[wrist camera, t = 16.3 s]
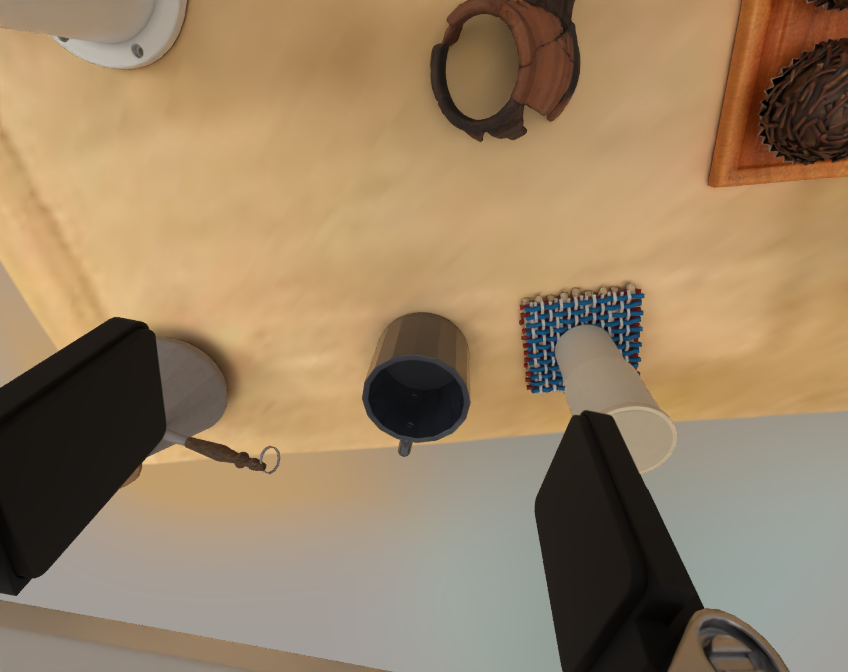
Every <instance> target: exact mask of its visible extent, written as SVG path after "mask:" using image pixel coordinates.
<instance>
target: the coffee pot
mask: <svg viewBox="0 0 848 672" xmlns="http://www.w3.org/2000/svg"><path fill="white" fill-rule="evenodd" d="M156 343H157V351H158V359H159V367H160V375H161V383H162V391H163V399H164V407H165V415H166V423H167V427H166V432H165V435H164V437H163V439H162V440H161V442H160V443H159V444H158V445H157V446H156V447H155V448H154V450H153V451H152V452H151V453H150V454H149V455H148V456H151V455H153V454H155V453H157V452H159V451H161V450H163V449H165V448H168V447H170V446H172V445H174V444H180V445H183V446H185V447H187V448H189V449H191V450H193V451H196V452H198V453H200V454H203V455H205V456H207V457H209V458H212V459H214V460H216V461H221V462H229V463H234V464H235V466H236V467H237V468H243V467H245V466H246V467H248V468H249V469H251V470H255V471H263V472H265V473H268V474H271V473H273V472H275V471H276V469H277V468H278V466H279V462H280V452H279V451H278V450H277V448H275V447H272V446H268V447H266V448H265V449H264V450H263V451H262V453H261V455H260V460H259V459H257V458H249V455H248V453H246V452H240V453H237V452H236V451H234V450H232V449H230V448H229V447H227V446H225V445H222V444H217V443H213V442H209V441H205V440H201V439H196V438H192V437H191V436H193V435H195V434H197V433H200V432H202V431H204V430H206V429H208V428H210V427H212V426H213V425H215V424H216V423H217V422H218V421H219V420H220V419H221V418H222V415H223V413H224V411H225V409H226V406H227V391H228V390H227V386H226V382H225V378H224V377H223V375H222V373H221V371H220V369H219V367H218V366H217V365H216V364H215V363H214V361H213V360H212V359H211V358H210V357H209V356H208V355H207V354H205V353H204V352H203V351H201V350H200V349H198V348H196V347H194V346H192V345H190V344H188V343H186V342H184V341H180V340H176V339H173V338H164V337H156ZM271 447H272V448H274V449H275V450H276V452H277V457H278V460H277V465H276V466H275V468H274V469H273V470H272V471H270V472H266V471H265V469H266V464H265V463H263V462H262V458H263V454H264V453H265V451H266V450H267V449H269V448H271ZM148 456H147V457H148ZM141 469H142V463H141V464H140V466H139V467H138V468H137V469H136V470H135V471H134V472H133V474H132V475H131V476H130V477H129V478H128V479H127V480H126V481H125V483H124V484H123V485H122V486H121V487H120V488H122V487H124V486H127V485H128V484H130V483H131V482H133V481H135V480H136V479H137V478H138V476H139V475H140V472H141Z"/></svg>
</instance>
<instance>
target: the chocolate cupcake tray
mask: <svg viewBox="0 0 848 672" xmlns="http://www.w3.org/2000/svg"><path fill="white" fill-rule="evenodd" d="M841 176H848V0H743V1H742V6H741V11H740V17H739V22H738V27H737V33H736V38H735V43H734V49H733V54H732V59H731V65H730V70H729V75H728V81H727V86H726V91H725V97H724V102H723V107H722V113H721V118H720V123H719V129H718V134H717V139H716V145H715V150H714V155H713V161H712V166H711V171H710V177H709V182H708V185H709V186H711V187H714V188H715V187H727V186H738V185H750V184H761V183H773V182H784V181H796V180H807V179H819V178H830V177H841Z"/></svg>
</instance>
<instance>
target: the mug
mask: <svg viewBox="0 0 848 672" xmlns="http://www.w3.org/2000/svg"><path fill="white" fill-rule="evenodd" d="M362 400H363V403H364V406H365V409H366V412H367V415H368V417H369V418H370V419H371V420H372V421H373V422H374V423H375V425H376V426H377V427H378V428H379V429H380V430H382V431H384V432H385V433H387V434H389V435H391V436H393V437H395V438H396V439H400V442H399V447H398V453H399V454H400V455H401V456H403V457H405V456H408V455H409V454H410V451H411V447H412V443H413V442H415V443H419V442H428V441H436V440H439V439H441V438H443V437H445V436H447V435H449V434H452V433H453V432H455V430H456V429H457V428H458V427H459V426H460V425H461V424H462V423H463V422H464V421H465V419H466V417H467V413H468V410H469V407H470V364H469V353H468V345H467V342H466V339H465V337H464V335H463V334H462V332H461V331H460V330H459V329H458V327H457V326H455V325H454V324H453V323H452V322H450V321H449V320H447V319H446V318H444V317H441V316H439V315H435V314H432V313H412V314H407V315H405V316H402V317H400V318H398V319H396V320H395V321H393V322H392V323H391V324H390V325H389V326H388V327H387V328H386V329H385V330H384V332H383V334H382V336H381V338H380V339H379V342H378V344H377V347H376V350H375V353H374V356H373V359H372V362H371V365H370V368H369V371H368V373H367V376H366V379H365V382H364V389H363V395H362Z"/></svg>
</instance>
